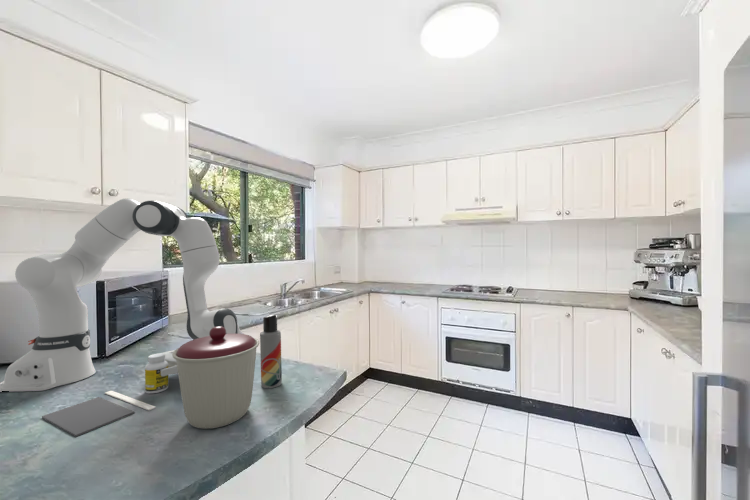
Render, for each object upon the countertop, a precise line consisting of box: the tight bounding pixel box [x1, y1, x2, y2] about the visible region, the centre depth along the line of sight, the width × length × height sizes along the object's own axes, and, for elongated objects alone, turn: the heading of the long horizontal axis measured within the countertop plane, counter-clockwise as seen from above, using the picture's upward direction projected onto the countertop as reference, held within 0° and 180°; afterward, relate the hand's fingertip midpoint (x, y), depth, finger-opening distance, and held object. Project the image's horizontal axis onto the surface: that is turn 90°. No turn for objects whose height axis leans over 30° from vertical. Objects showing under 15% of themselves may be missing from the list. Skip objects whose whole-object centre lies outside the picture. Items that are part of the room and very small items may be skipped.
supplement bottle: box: [144, 352, 169, 394], centre depth 91 cm, size 5×5×10 cm
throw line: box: [104, 390, 156, 412], centre depth 84 cm, size 22×2×1 cm, turn 62°
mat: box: [41, 396, 136, 438], centre depth 77 cm, size 18×11×1 cm, turn 62°
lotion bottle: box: [259, 314, 283, 389], centre depth 93 cm, size 6×6×20 cm
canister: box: [172, 326, 260, 430], centre depth 75 cm, size 18×18×21 cm
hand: (153, 371), depth 90 cm, fingers closed on supplement bottle, 5 cm apart
